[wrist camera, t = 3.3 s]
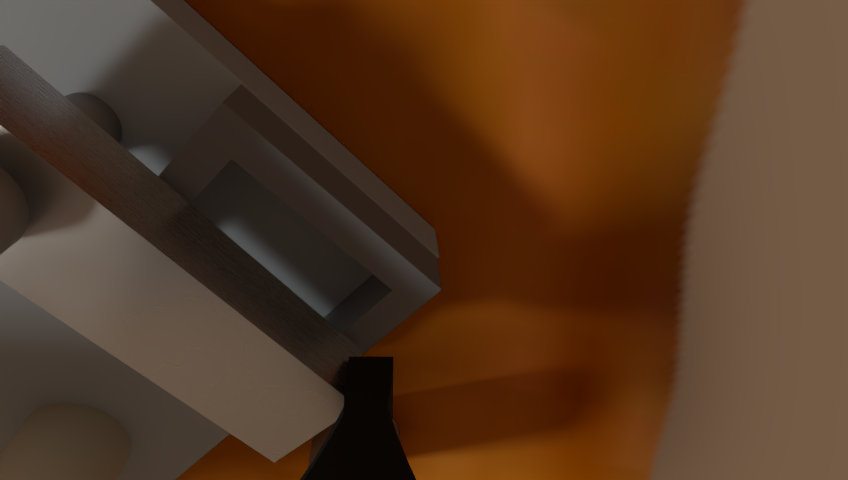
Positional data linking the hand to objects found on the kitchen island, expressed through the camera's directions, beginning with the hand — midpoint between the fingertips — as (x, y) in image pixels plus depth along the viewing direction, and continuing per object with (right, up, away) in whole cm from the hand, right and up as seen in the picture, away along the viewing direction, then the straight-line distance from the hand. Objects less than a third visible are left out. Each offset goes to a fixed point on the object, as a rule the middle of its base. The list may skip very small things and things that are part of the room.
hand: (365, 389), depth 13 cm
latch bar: (-4, +3, -1) cm, 5 cm away
